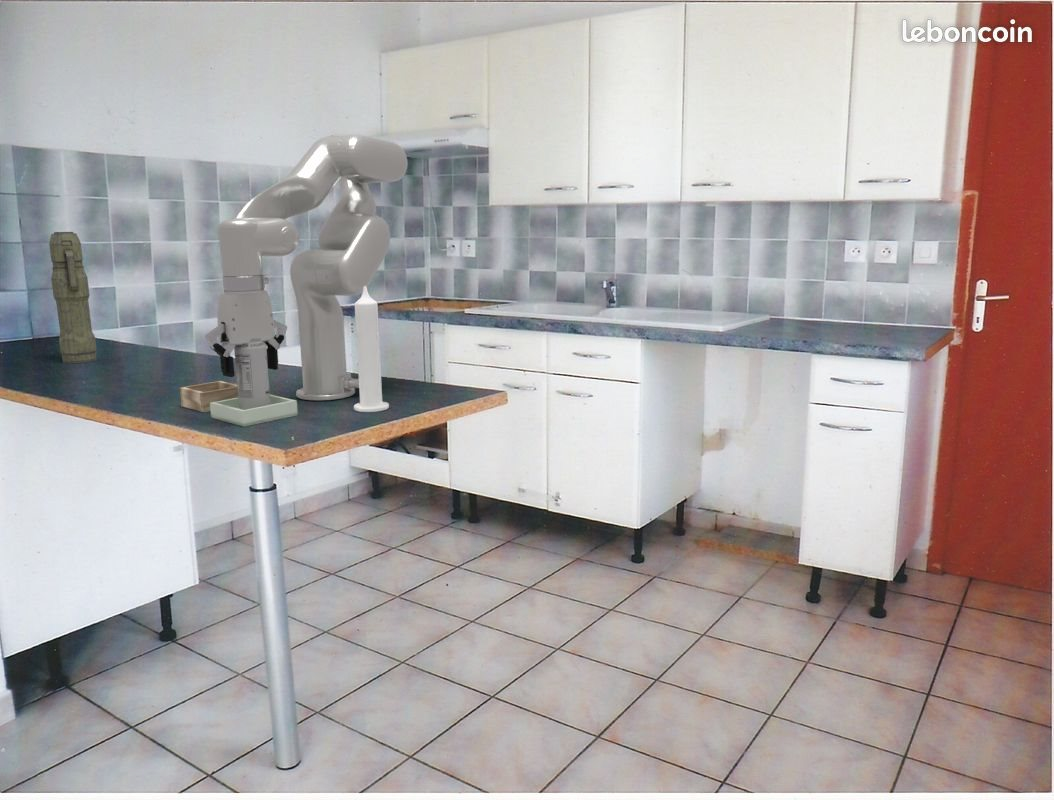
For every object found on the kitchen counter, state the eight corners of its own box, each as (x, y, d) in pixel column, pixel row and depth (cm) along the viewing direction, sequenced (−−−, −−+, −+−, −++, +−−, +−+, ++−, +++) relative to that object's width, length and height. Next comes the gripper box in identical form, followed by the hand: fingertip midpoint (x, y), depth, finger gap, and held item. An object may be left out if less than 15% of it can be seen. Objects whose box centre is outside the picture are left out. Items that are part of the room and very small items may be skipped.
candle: (377, 413, 175) (371, 288, 170) (347, 410, 178) (339, 287, 172) (395, 406, 182) (389, 284, 176) (365, 403, 184) (359, 284, 179)
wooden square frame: (244, 404, 185) (242, 386, 184) (203, 412, 178) (201, 393, 177) (221, 398, 191) (219, 380, 190) (181, 406, 184) (179, 387, 183)
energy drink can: (276, 413, 174) (270, 338, 171) (246, 418, 170) (240, 341, 167) (264, 408, 178) (258, 335, 175) (235, 412, 175) (228, 338, 172)
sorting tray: (297, 415, 175) (296, 400, 174) (243, 426, 166) (242, 411, 165) (264, 406, 182) (263, 392, 182) (211, 417, 174) (209, 402, 173)
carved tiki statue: (69, 365, 235) (52, 232, 228) (56, 360, 244) (39, 232, 236) (104, 361, 241) (88, 231, 234) (89, 356, 250) (74, 231, 242)
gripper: (271, 280, 177) (278, 364, 181) (191, 287, 165) (200, 377, 168) (293, 282, 173) (299, 368, 176) (212, 289, 160) (220, 381, 164)
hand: (250, 372), depth 172 cm, fingers open, 9 cm apart
